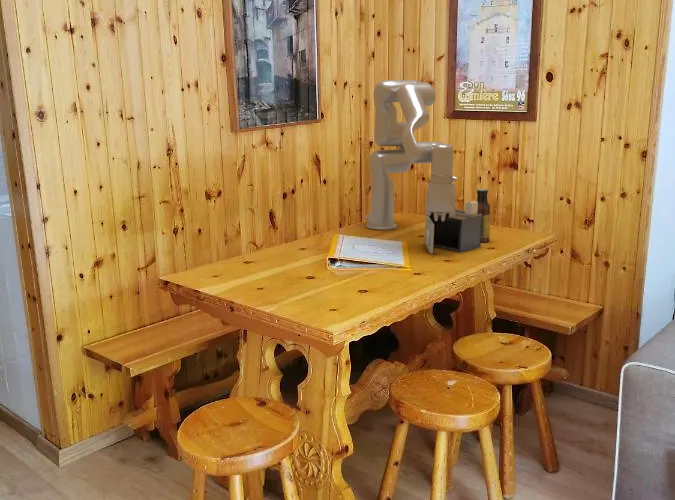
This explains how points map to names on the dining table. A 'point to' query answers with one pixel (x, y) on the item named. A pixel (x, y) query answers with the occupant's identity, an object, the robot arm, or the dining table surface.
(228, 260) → the dining table surface
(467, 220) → the dark grey box
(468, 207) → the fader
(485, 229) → the sauce bottle
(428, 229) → the door
